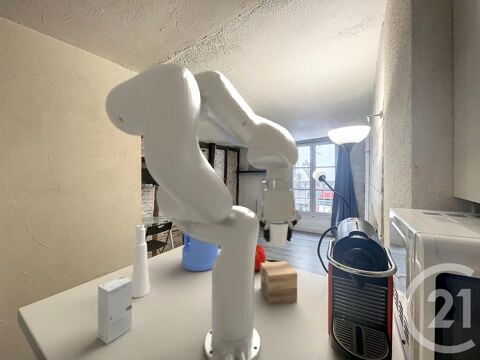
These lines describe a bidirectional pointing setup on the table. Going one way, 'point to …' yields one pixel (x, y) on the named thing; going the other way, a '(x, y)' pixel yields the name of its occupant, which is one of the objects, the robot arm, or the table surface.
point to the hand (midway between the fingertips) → (277, 240)
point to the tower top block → (278, 275)
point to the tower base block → (279, 295)
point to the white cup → (278, 233)
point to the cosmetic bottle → (140, 265)
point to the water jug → (198, 254)
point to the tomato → (259, 257)
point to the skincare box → (114, 309)
